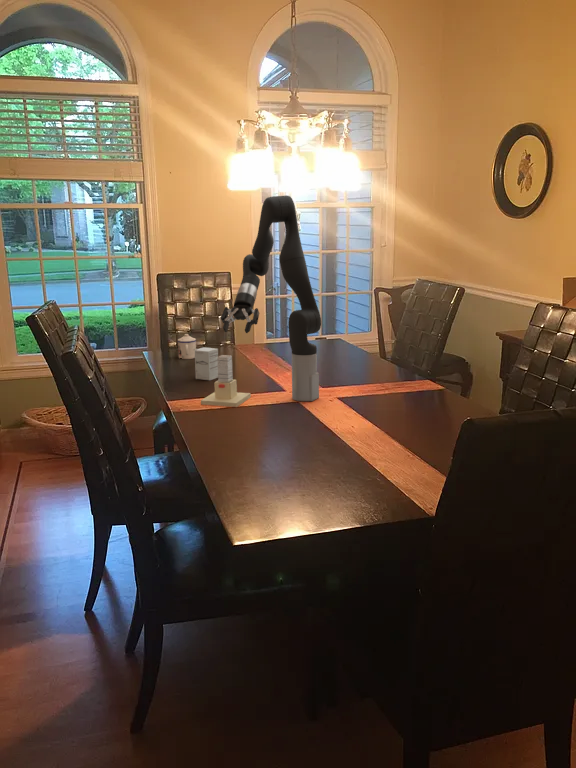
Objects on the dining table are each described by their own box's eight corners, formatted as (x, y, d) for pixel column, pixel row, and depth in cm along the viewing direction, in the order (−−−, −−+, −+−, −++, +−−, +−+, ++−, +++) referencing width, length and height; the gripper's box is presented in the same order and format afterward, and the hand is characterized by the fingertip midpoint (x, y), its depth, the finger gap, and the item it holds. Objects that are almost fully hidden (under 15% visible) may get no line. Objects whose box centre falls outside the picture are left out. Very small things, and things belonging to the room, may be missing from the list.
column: (233, 394, 242) (232, 355, 238) (229, 397, 238) (227, 357, 234) (223, 394, 243) (221, 354, 240) (218, 397, 239) (216, 357, 236)
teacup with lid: (178, 356, 323) (177, 332, 320) (197, 355, 324) (195, 332, 322) (177, 361, 312) (176, 337, 309) (196, 360, 313) (195, 336, 310)
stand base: (250, 397, 246) (250, 377, 244) (236, 407, 233) (236, 386, 231) (216, 394, 250) (215, 375, 248) (200, 404, 237) (200, 384, 235)
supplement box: (195, 379, 275) (193, 349, 272) (205, 375, 281) (203, 346, 278) (209, 381, 272) (208, 351, 269) (219, 377, 278) (218, 348, 275)
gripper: (226, 290, 253) (215, 324, 245) (260, 292, 249) (250, 326, 241) (231, 302, 259) (221, 336, 251) (265, 304, 255) (255, 338, 247)
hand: (235, 331), depth 246 cm, fingers open, 8 cm apart
